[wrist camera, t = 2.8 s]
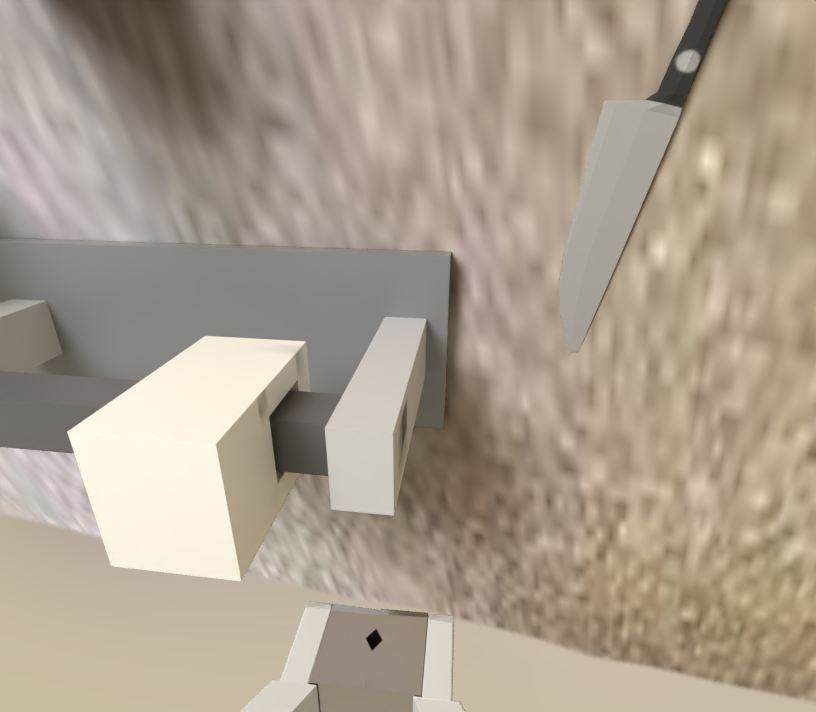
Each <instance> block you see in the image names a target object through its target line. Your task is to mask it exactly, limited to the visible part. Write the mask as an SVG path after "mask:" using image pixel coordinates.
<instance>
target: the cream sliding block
mask: <svg viewBox="0 0 816 712" xmlns="http://www.w3.org/2000/svg"><path fill="white" fill-rule="evenodd" d="M289 390H290V391H305V392H311V391H310V379H309V368H308V356H307V345H306V341H290V340H272V339H254V338H235V337H217V336H204V337H203V338H202V339H200V340H199V341H197V342H196V343H194V344H193V345H191V346H190V347H189V348H187V349H186V350H184V351H183V352H181V353H180V354H178V355H177V356H176V357H174V358H173V359H171V360H170V361H168V362H167V363H166V364H164V365H163V366H161V367H160V368H158V369H157V370H155V371H154V372H153V373H151V374H150V375H148V376H147V377H145V378H144V379H142V380H141V381H140V382H138V383H137V384H135V385H134V386H132V387H131V388H130V389H128V390H127V391H125V392H124V393H122V394H121V395H119V396H118V397H117V398H115V399H114V400H112V401H111V402H109V403H108V404H106V405H105V406H104V407H102V408H101V409H99V410H98V411H96V412H95V413H94V414H92V415H91V416H89V417H88V418H86V419H85V420H83V421H82V422H81V423H79V424H78V425H76V426H75V427H73V428H72V429H70V430H69V431H68V432H67V433H68V436H69V439H70V442H71V445H72V448H73V451H74V454H75V457H76V460H77V463H78V466H79V469H80V472H81V475H82V479H83V482H84V485H85V488H86V491H87V494H88V497H89V500H90V503H91V506H92V509H93V512H94V515H95V518H96V521H97V524H98V527H99V530H100V533H101V536H102V539H103V542H104V545H105V548H106V551H107V554H108V557H109V560H110V563H111V566H116V567H124V568H133V569H142V570H150V571H159V572H168V573H176V574H184V575H193V576H201V577H209V578H218V579H227V580H235V581H242V579H243V577H244V575H245V574H246V572H247V570H248V568H249V566H250V564H251V563H252V561H253V559H254V557H255V555H256V553H257V552H258V550H259V548H260V546H261V544H262V542H263V540H264V539H265V537H266V535H267V533H268V531H269V529H270V528H271V526H272V524H273V522H274V520H275V518H276V517H277V515H278V513H279V511H280V509H281V507H282V505H283V504H284V502H285V500H286V498H287V496H288V494H289V493H290V491H291V489H292V487H293V485H294V483H295V481H296V480H297V478H298V476H299V474H300V473H290V472H279V471H276V467H275V459H274V451H273V444H272V436H271V428H270V421H269V416H270V415H271V413H272V412H273V411H274V410H275V408H276V407H277V406H278V404H279V403H280V402H281V400H282V399H283V398H284V397H285V395H286V394H287V393H288V391H289Z"/></svg>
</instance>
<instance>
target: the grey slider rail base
mask: <svg viewBox="0 0 816 712" xmlns="http://www.w3.org/2000/svg"><path fill="white" fill-rule="evenodd" d="M450 271H451V252H443V251H410V250H377V249H344V248H312V247H279V246H246V245H213V244H181V243H148V242H115V241H82V240H50V239H17V238H0V447H8V448H19V449H30V450H42V451H53V452H64V453H74V451H73V448H72V445H71V442H70V439H69V436H68V433H67V432H68V431H69V430H70V429H72V428H73V427H75V426H76V425H78V424H79V423H81V422H82V421H83V420H85V419H86V418H88V417H89V416H91V415H92V414H94V413H95V412H96V411H98V410H99V409H101V408H102V407H104V406H105V405H106V404H108V403H109V402H111V401H112V400H114V399H115V398H117V397H118V396H119V395H121V394H122V393H124V392H125V391H127V390H128V389H130V388H131V387H132V386H134V385H135V384H137V383H138V382H140V381H141V380H142V379H144V378H145V377H147V376H148V375H150V374H151V373H153V372H154V371H155V370H157V369H158V368H160V367H161V366H163V365H164V364H166V363H167V362H168V361H170V360H171V359H173V358H174V357H176V356H177V355H178V354H180V353H181V352H183V351H184V350H186V349H187V348H189V347H190V346H191V345H193V344H194V343H196V342H197V341H199V340H200V339H202V338H203V337H204V336H217V337H235V338H254V339H272V340H290V341H306V345H307V356H308V368H309V379H310V391H311V392H305V391H290V390H289V391H288V393H287V394H286V395H285V397H284V398H283V399H282V400H281V402H280V403H279V404H278V406H277V407H276V408H275V410H274V411H273V412H272V413H271V415H270V416H269V421H270V428H271V436H272V444H273V451H274V459H275V467H276V471H279V472H290V473H302V474H313V475H324V476H329V490H330V503H331V510H340V511H350V512H361V513H371V514H381V515H392V516H394V513H395V508H396V504H397V499H398V495H399V491H400V486H401V482H402V477H403V473H404V468H405V464H406V459H407V455H408V451H409V446H410V442H411V437H412V433H413V428H414V426H417V427H431V428H443V427H444V419H445V394H446V370H447V345H448V320H449V296H450Z"/></svg>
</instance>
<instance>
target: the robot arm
mask: <svg viewBox="0 0 816 712" xmlns="http://www.w3.org/2000/svg"><path fill="white" fill-rule="evenodd" d="M453 642H454V618H453V616H449V615H438V614H429V615H428V613H424V612H412V611H400V610H389V609H381V610H376V609H369V608H362V607H354V606H346V605H338V604H330V603H321V602H312V601H310V602H309V604H308V605H307V607H306V608H305V611H304V614H303V616H302V619H301V622H300V625H299V628H298V631H297V634H296V637H295V639H294V642H293V645H292V648H291V651H290V654H289V657H288V660H287V662H286V665H285V668H284V671H283V674H282V677H281V679H280V680H272V681H271V682H270V683H269V684H268V685H267V686H266V687H265V688H264V689H263V690H262V691H261V692H260V693H258V694H257V696H255V697H254V698H253V699H252V700H251V701H250V702H249V703H248V704H247V705H246V706H245V707H244V708H243V709H242V710H241V711H239V712H465V710H464V708H463V706H462V704H461V702H458V701H452V698H453V697H452V696H453V648H454V643H453Z"/></svg>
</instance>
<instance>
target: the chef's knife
mask: <svg viewBox="0 0 816 712" xmlns="http://www.w3.org/2000/svg"><path fill="white" fill-rule="evenodd" d="M727 1H728V0H699V1H698V4H697V6H696V9H695V11H694V14H693V16H692V19H691V21H690V23H689V25H688V27H687V29H686V31H685V33H684V35H683V38H682V40H681V42H680V44H679V46H678V48H677V50H676V52H675V54H674V56H673V58H672V60H671V63H670V65H669V67H668V69H667V72H666V74H665V76H664V79H663V81H662V83H661V86H660V88H659V90H658V92H657V93H655V94H654V95H652V96H650V97H649V98H647V99H646V100H606V101H604V104H603V107H602V111H601V115H600V118H599V122H598V126H597V130H596V133H595V137H594V141H593V144H592V148H591V152H590V155H589V159H588V163H587V167H586V170H585V174H584V178H583V181H582V185H581V189H580V193H579V196H578V200H577V204H576V207H575V211H574V215H573V218H572V222H571V226H570V230H569V233H568V237H567V241H566V244H565V249H564V255H563V261H562V267H561V273H560V279H559V286H560V318H561V323H562V327H563V332H564V337H565V342H566V346H567V349H568V351H569V353H576V352H578V351H579V349H580V347H581V344H582V342H583V340H584V338H585V335H586V333H587V331H588V328H589V326H590V324H591V322H592V319H593V317H594V315H595V313H596V310H597V308H598V306H599V303H600V301H601V299H602V297H603V294H604V292H605V290H606V287H607V285H608V283H609V281H610V278H611V276H612V274H613V271H614V269H615V267H616V264H617V262H618V260H619V257H620V255H621V253H622V250H623V248H624V246H625V243H626V241H627V239H628V236H629V234H630V232H631V229H632V227H633V225H634V222H635V220H636V218H637V215H638V213H639V211H640V208H641V206H642V204H643V201H644V199H645V197H646V194H647V192H648V189H649V187H650V185H651V182H652V180H653V178H654V175H655V173H656V171H657V168H658V166H659V164H660V161H661V159H662V157H663V154H664V152H665V150H666V147H667V145H668V143H669V140H670V138H671V136H672V133H673V131H674V129H675V126H676V124H677V122H678V119H679V116H680V113H681V110H682V107H683V105H684V102H685V100H686V98H687V95H688V93H689V91H690V88H691V86H692V84H693V81H694V79H695V76H696V74H697V72H698V69H699V67H700V65H701V62H702V60H703V58H704V55H705V53H706V50H707V48H708V46H709V43H710V41H711V39H712V36H713V34H714V32H715V29H716V27H717V25H718V22H719V20H720V18H721V15H722V13H723V11H724V8H725V6H726V3H727Z"/></svg>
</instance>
